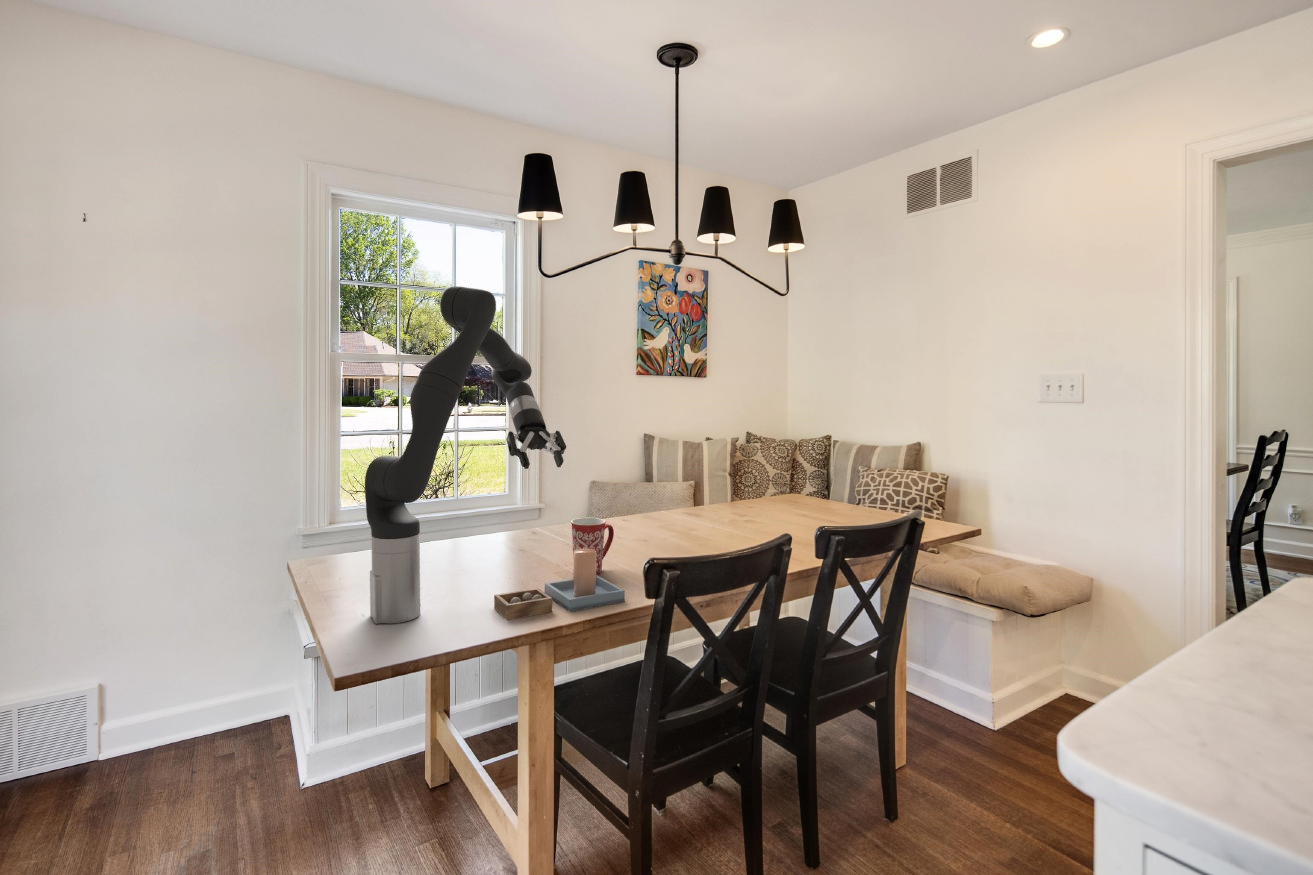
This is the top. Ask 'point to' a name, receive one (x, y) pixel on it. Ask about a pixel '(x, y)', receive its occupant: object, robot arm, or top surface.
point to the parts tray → (522, 603)
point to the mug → (592, 537)
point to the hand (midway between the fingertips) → (544, 466)
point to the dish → (564, 596)
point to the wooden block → (584, 572)
